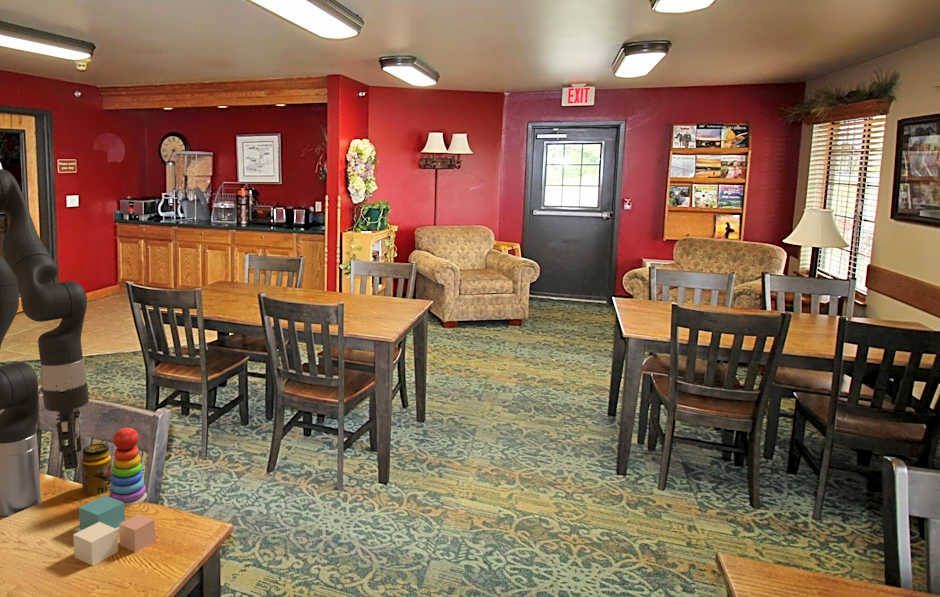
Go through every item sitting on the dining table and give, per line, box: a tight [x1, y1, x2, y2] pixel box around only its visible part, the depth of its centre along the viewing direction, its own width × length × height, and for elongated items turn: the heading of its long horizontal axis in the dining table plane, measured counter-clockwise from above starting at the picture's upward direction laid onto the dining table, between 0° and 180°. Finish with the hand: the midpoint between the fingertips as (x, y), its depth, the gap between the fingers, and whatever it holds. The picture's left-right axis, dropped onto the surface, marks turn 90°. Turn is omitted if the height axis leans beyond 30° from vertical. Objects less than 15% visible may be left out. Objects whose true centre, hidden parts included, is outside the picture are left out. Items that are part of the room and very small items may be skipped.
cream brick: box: [72, 522, 119, 566], centre depth 126 cm, size 5×5×5 cm
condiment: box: [81, 443, 113, 496], centre depth 149 cm, size 7×8×12 cm
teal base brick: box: [78, 495, 126, 530], centre depth 135 cm, size 6×6×5 cm
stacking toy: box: [109, 427, 148, 508], centre depth 146 cm, size 8×8×19 cm
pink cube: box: [118, 513, 156, 553], centre depth 130 cm, size 5×5×5 cm
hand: (73, 459), depth 128 cm, fingers open, 8 cm apart
